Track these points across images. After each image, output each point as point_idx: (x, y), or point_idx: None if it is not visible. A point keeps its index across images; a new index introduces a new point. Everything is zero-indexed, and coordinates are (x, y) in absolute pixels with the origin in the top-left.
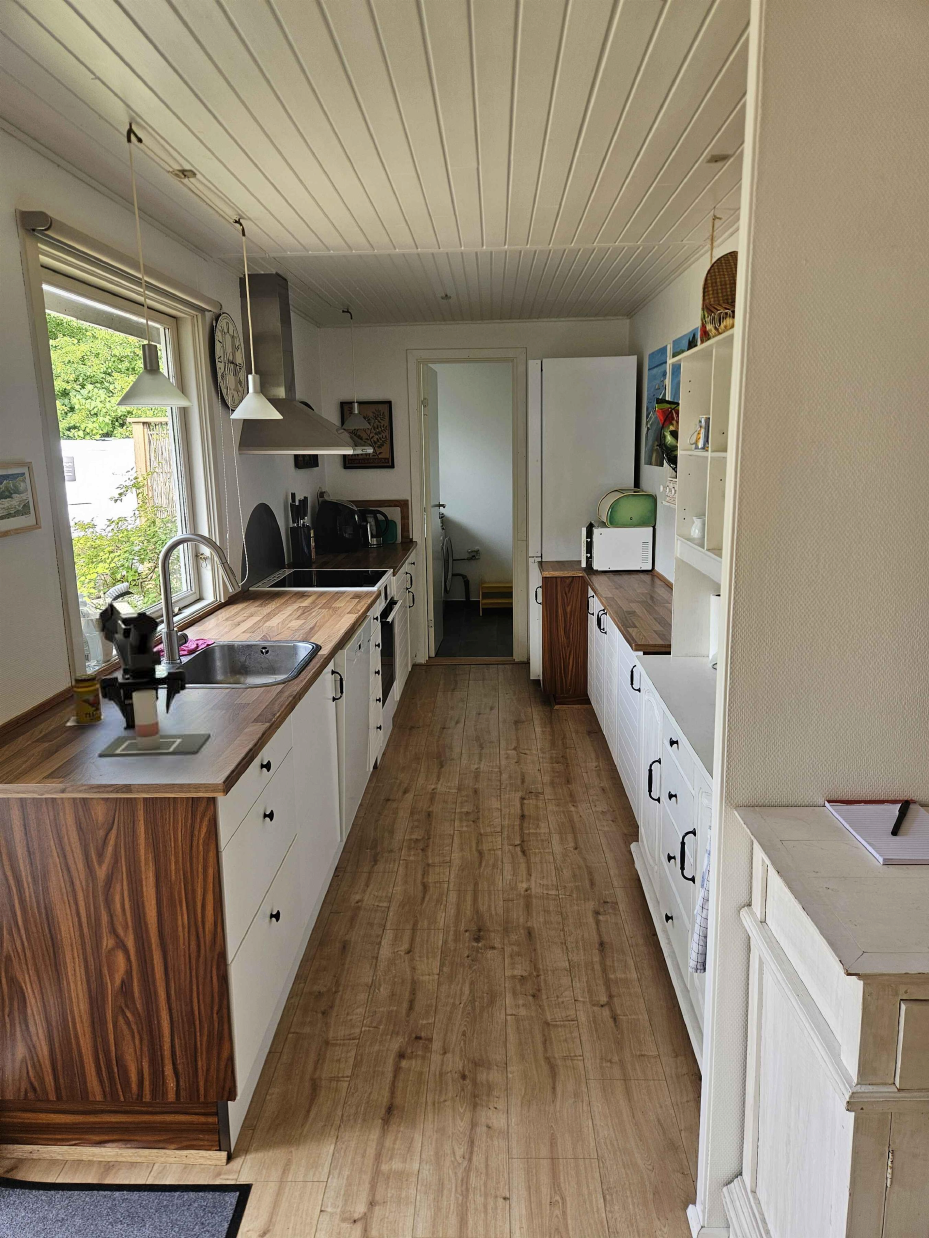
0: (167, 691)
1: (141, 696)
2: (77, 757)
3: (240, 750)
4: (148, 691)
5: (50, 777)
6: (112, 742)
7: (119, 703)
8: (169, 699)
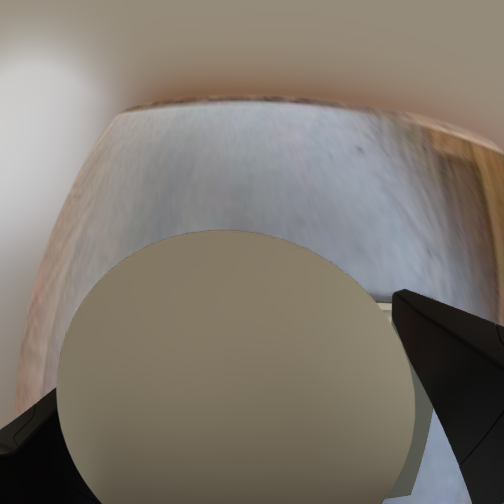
0: (18, 440)
1: (223, 237)
2: (486, 307)
3: (44, 277)
4: (142, 461)
5: (467, 165)
6: (424, 432)
7: (487, 323)
8: (51, 396)
